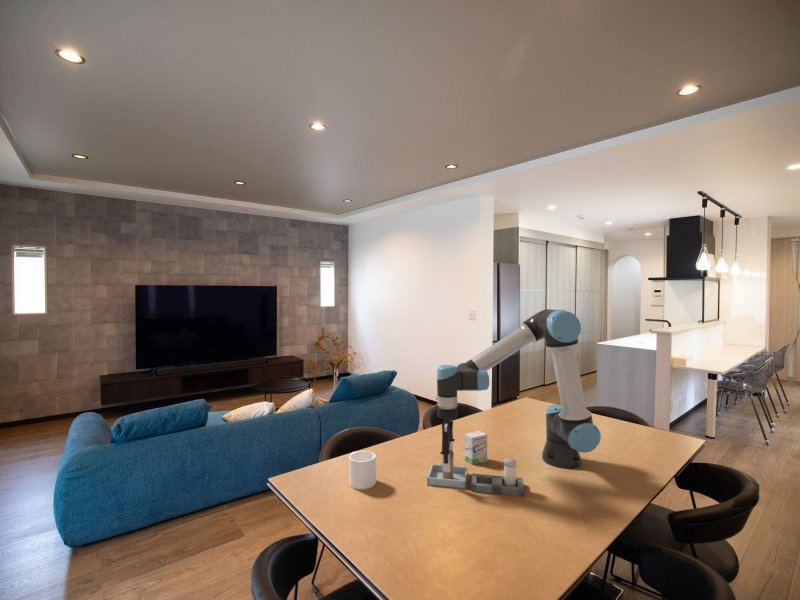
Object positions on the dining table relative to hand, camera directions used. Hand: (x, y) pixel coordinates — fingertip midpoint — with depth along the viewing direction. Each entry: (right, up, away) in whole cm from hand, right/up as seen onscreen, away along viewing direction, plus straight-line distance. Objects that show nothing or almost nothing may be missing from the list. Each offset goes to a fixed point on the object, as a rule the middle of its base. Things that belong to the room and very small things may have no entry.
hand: (447, 464), depth 145 cm
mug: (-33, -6, -1) cm, 34 cm away
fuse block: (+17, -6, -7) cm, 19 cm away
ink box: (+14, -6, +16) cm, 22 cm away
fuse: (+21, -5, -8) cm, 23 cm away
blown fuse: (0, -5, 0) cm, 5 cm away
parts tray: (0, -6, 0) cm, 6 cm away
